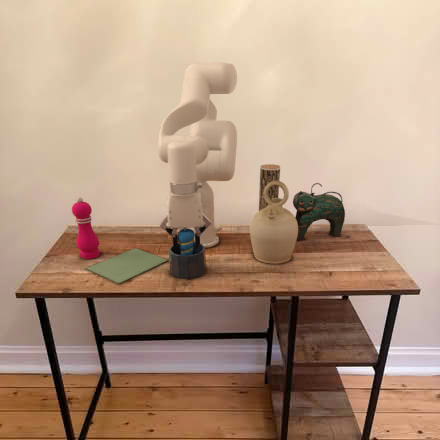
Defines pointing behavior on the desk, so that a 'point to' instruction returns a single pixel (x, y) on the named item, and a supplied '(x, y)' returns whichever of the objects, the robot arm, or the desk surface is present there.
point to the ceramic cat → (318, 211)
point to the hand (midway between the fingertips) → (186, 246)
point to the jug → (274, 229)
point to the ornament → (186, 241)
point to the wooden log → (267, 176)
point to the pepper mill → (85, 230)
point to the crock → (187, 262)
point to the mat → (127, 265)
